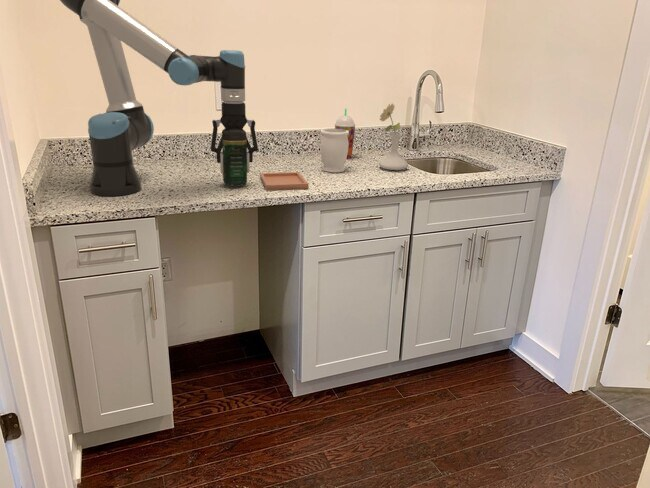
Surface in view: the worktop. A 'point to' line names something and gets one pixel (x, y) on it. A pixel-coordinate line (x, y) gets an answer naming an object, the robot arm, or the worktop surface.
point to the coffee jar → (234, 157)
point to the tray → (283, 181)
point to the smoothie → (348, 125)
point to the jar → (334, 149)
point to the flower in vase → (392, 159)
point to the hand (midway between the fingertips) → (235, 172)
